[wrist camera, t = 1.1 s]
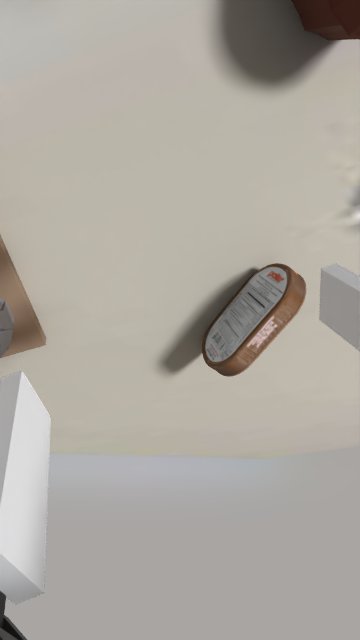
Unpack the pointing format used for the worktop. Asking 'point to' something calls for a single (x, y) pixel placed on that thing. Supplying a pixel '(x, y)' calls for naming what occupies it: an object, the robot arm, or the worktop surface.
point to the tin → (253, 319)
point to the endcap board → (16, 312)
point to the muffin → (330, 18)
